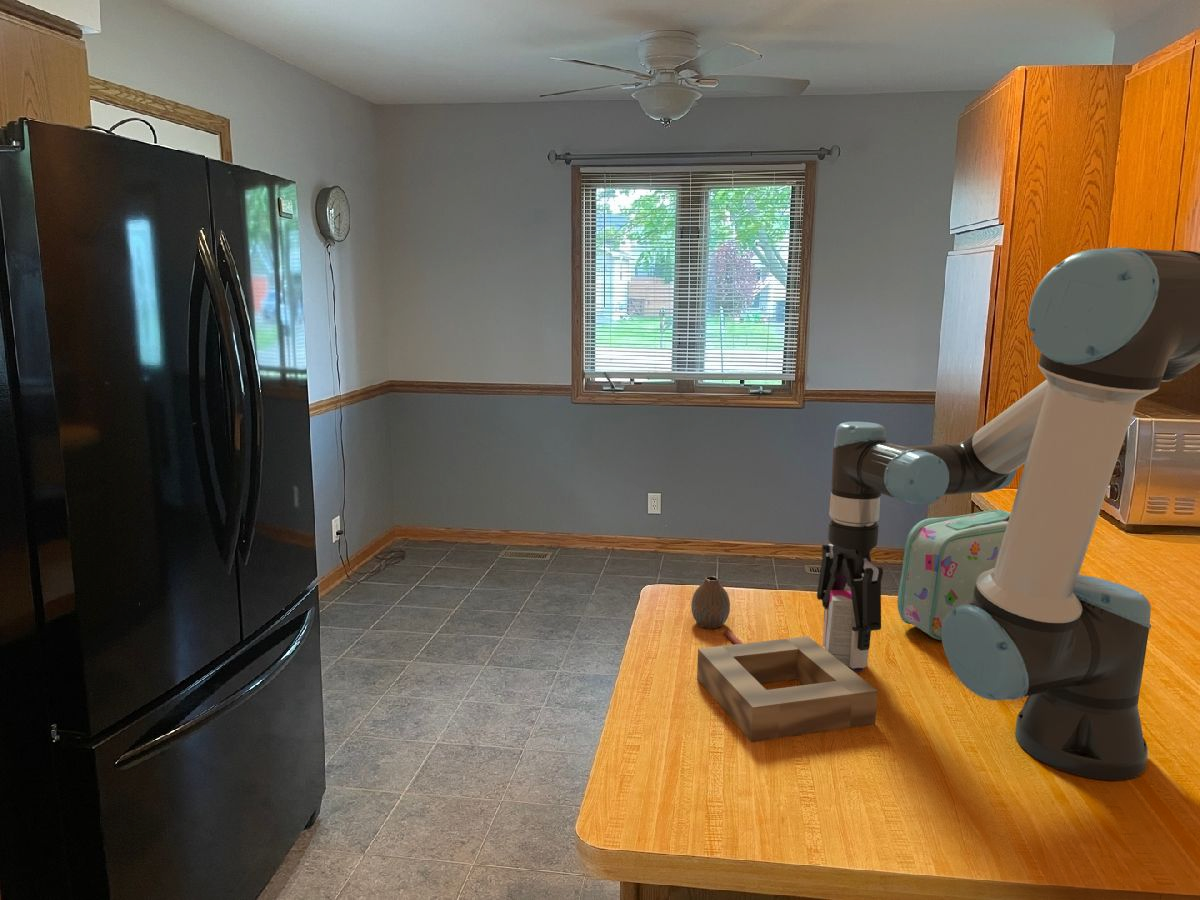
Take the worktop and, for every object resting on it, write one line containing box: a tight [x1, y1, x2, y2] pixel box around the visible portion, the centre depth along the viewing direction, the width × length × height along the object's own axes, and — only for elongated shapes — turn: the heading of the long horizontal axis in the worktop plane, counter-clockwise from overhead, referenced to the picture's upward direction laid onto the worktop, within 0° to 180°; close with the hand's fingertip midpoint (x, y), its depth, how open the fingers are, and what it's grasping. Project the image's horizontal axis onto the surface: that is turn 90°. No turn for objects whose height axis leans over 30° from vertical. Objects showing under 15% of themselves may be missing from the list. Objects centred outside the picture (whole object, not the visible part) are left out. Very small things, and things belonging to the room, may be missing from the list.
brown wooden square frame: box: [696, 636, 879, 743], centre depth 122 cm, size 19×19×5 cm
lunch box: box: [897, 509, 1011, 641], centre depth 149 cm, size 27×10×21 cm, turn 115°
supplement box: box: [824, 589, 864, 672], centre depth 134 cm, size 6×6×12 cm
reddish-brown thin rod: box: [723, 628, 743, 644], centre depth 140 cm, size 12×1×1 cm, turn 16°
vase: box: [690, 575, 731, 630], centre depth 149 cm, size 7×7×9 cm
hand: (844, 655), depth 135 cm, fingers closed on supplement box, 7 cm apart
